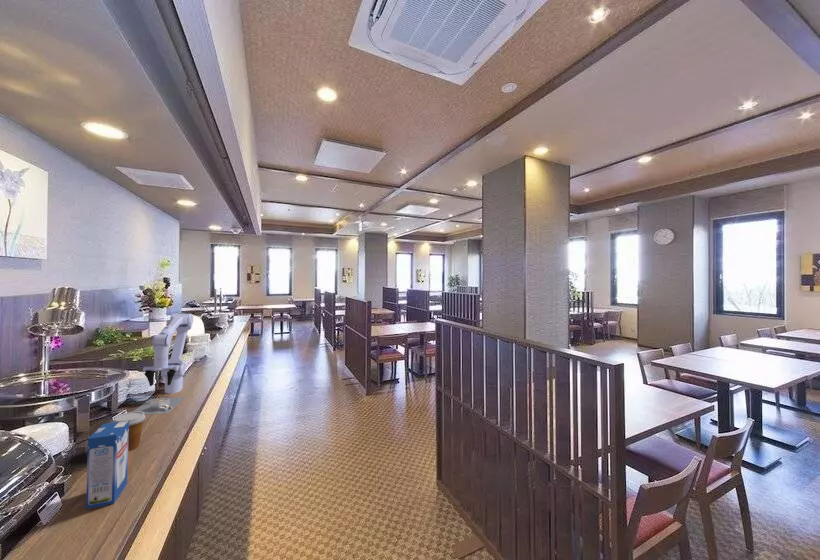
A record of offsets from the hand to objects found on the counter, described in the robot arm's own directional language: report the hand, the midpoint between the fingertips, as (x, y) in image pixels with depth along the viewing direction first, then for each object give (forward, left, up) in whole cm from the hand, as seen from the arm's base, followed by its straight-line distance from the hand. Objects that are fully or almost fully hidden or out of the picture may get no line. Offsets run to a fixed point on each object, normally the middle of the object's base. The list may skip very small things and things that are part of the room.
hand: (160, 385), depth 166 cm
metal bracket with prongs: (+10, +5, -8) cm, 14 cm away
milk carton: (+75, +17, -10) cm, 77 cm away
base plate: (+6, +2, -9) cm, 11 cm away
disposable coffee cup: (+45, +8, -10) cm, 47 cm away
